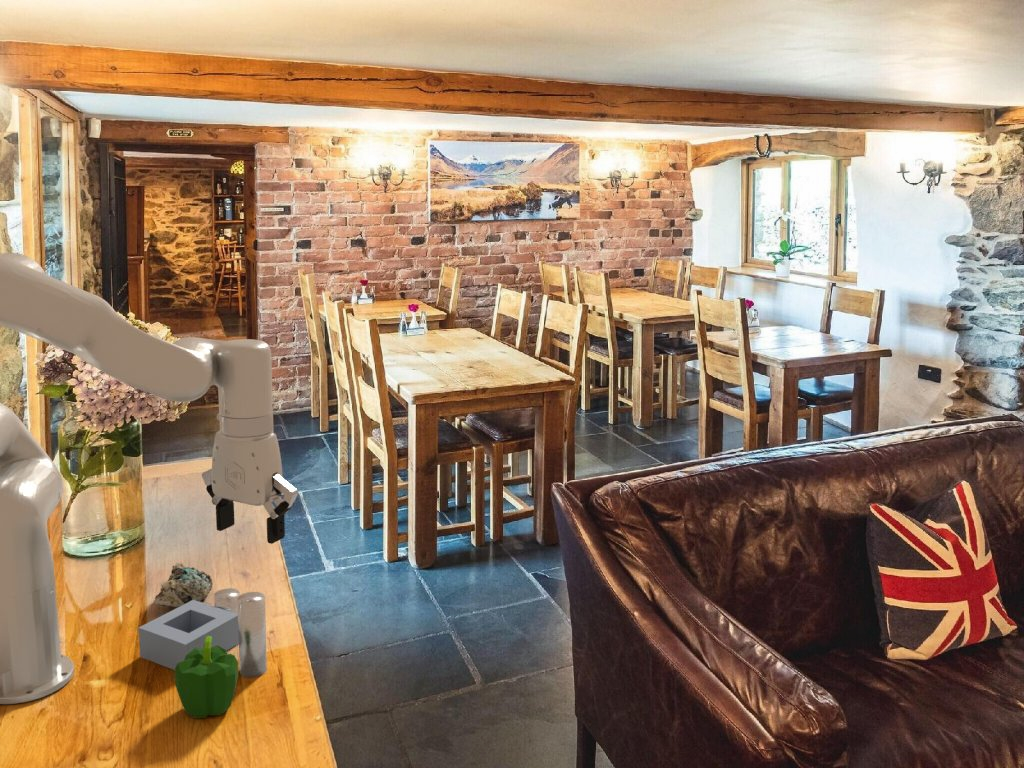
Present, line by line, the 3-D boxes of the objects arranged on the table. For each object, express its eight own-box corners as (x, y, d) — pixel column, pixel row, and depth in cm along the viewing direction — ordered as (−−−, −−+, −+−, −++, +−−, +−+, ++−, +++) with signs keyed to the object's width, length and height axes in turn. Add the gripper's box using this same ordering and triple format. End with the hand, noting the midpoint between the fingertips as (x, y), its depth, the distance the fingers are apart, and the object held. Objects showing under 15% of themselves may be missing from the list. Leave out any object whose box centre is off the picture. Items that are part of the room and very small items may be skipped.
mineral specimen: (207, 614, 149) (211, 566, 150) (149, 613, 147) (154, 564, 148) (213, 606, 161) (218, 562, 162) (160, 605, 159) (165, 560, 160)
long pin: (253, 680, 132) (251, 606, 129) (233, 672, 133) (231, 599, 131) (272, 667, 135) (270, 595, 132) (252, 660, 137) (250, 589, 134)
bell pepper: (222, 730, 119) (219, 663, 117) (166, 721, 121) (162, 655, 118) (250, 696, 127) (248, 633, 125) (197, 688, 129) (194, 626, 127)
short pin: (228, 635, 144) (227, 601, 143) (210, 628, 146) (208, 595, 145) (245, 624, 148) (244, 592, 146) (227, 619, 149) (226, 586, 148)
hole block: (186, 674, 132) (185, 644, 131) (140, 657, 137) (138, 627, 135) (239, 643, 142) (239, 614, 141) (194, 627, 146) (193, 599, 145)
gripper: (182, 421, 129) (188, 531, 132) (276, 439, 121) (279, 554, 125) (219, 411, 135) (224, 515, 139) (310, 427, 128) (312, 536, 132)
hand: (250, 534), depth 132 cm, fingers open, 9 cm apart
